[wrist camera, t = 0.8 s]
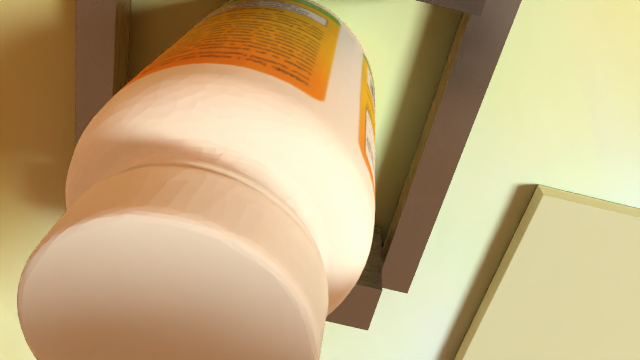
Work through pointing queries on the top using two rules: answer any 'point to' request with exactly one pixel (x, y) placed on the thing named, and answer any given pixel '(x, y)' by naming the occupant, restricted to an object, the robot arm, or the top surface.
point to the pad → (563, 285)
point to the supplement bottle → (215, 198)
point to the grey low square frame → (428, 162)
